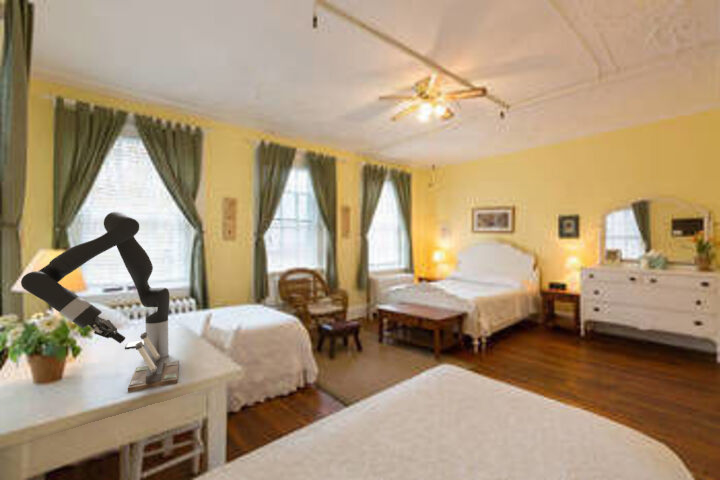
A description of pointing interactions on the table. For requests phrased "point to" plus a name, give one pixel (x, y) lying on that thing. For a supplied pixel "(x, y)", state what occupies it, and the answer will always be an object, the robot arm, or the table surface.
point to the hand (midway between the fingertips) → (123, 340)
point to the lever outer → (146, 357)
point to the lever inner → (150, 346)
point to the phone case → (132, 344)
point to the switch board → (154, 375)
